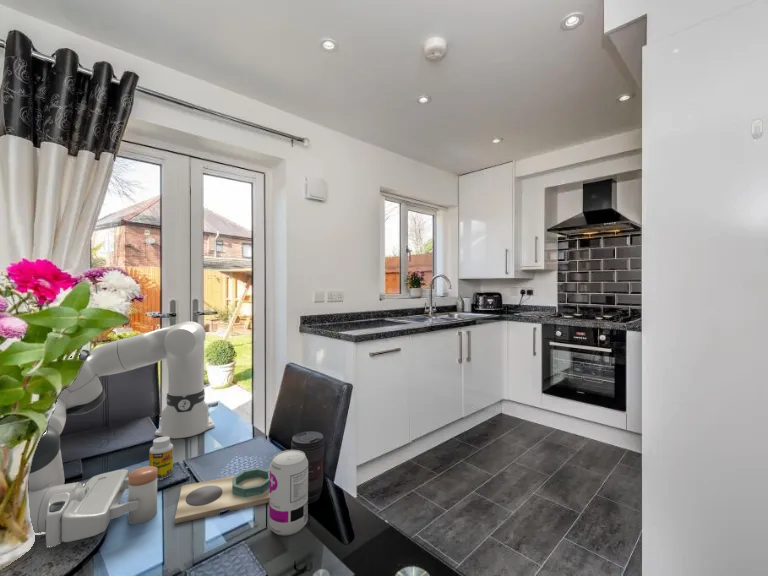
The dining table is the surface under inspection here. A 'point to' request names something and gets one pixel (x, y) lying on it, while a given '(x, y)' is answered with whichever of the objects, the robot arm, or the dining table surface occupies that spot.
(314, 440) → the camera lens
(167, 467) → the supplement bottle
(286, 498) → the supplement can
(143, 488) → the lidded canister
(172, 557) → the dining table surface
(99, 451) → the dining table surface
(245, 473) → the seat board
